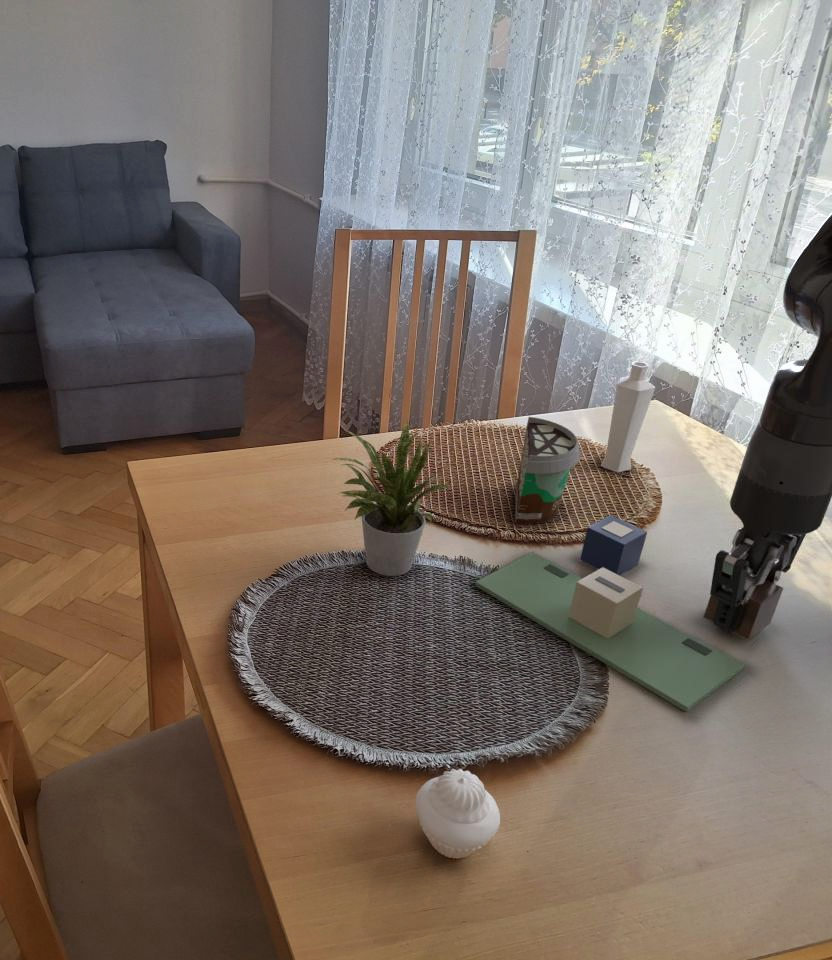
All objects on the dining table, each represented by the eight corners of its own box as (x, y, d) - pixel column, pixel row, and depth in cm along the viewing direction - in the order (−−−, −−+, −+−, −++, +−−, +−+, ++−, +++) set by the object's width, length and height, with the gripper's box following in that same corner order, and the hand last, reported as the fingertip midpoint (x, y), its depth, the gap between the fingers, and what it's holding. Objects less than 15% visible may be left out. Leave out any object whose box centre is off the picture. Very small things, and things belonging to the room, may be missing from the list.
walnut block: (725, 601, 91) (737, 566, 89) (770, 623, 88) (784, 587, 86) (703, 617, 89) (714, 581, 87) (747, 640, 86) (761, 603, 83)
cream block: (593, 601, 92) (602, 566, 89) (633, 622, 88) (643, 586, 86) (567, 616, 89) (576, 581, 87) (607, 639, 86) (617, 603, 84)
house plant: (328, 520, 108) (335, 401, 100) (441, 529, 106) (458, 408, 98) (319, 586, 96) (327, 457, 88) (447, 599, 93) (467, 467, 85)
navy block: (602, 547, 102) (610, 514, 99) (638, 564, 98) (647, 531, 96) (579, 559, 99) (587, 526, 97) (615, 578, 96) (624, 544, 94)
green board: (531, 556, 100) (532, 551, 100) (742, 669, 83) (744, 663, 82) (474, 585, 95) (475, 580, 95) (686, 712, 78) (688, 707, 78)
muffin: (403, 859, 65) (412, 795, 62) (418, 799, 70) (428, 737, 67) (487, 888, 63) (502, 823, 60) (497, 823, 68) (511, 760, 65)
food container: (569, 537, 104) (585, 464, 99) (515, 529, 105) (528, 457, 100) (565, 488, 114) (580, 420, 109) (516, 482, 115) (528, 414, 111)
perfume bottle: (630, 476, 116) (657, 373, 109) (596, 468, 118) (620, 367, 111) (636, 463, 120) (662, 361, 112) (602, 455, 122) (626, 355, 114)
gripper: (794, 513, 74) (738, 666, 82) (868, 465, 81) (810, 611, 89) (706, 479, 79) (663, 626, 88) (783, 437, 86) (736, 577, 94)
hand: (737, 617), depth 88 cm, fingers closed on walnut block, 4 cm apart
